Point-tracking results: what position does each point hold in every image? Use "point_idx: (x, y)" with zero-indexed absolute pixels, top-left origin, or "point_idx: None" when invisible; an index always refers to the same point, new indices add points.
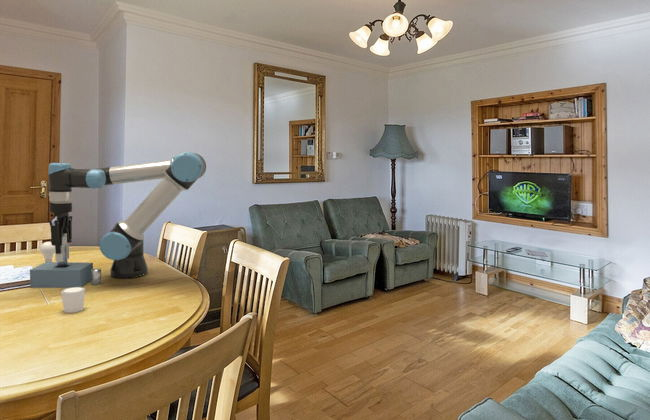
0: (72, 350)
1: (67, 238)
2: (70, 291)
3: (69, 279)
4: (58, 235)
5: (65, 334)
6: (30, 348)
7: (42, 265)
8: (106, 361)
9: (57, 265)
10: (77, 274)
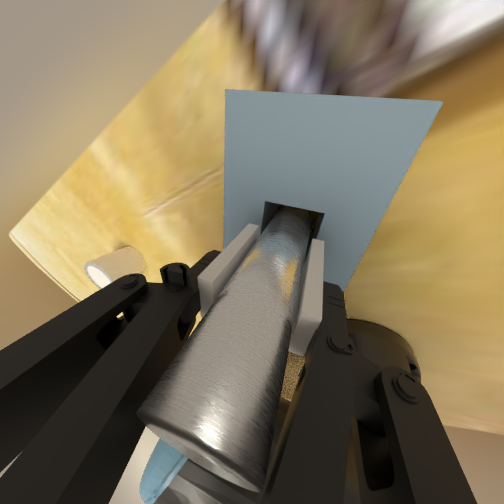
0: (62, 266)
1: (293, 398)
2: (93, 275)
3: None
4: (63, 389)
5: (78, 257)
6: (45, 232)
7: (325, 121)
8: (64, 287)
9: (274, 218)
10: None
